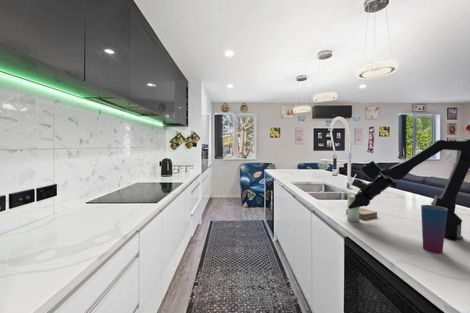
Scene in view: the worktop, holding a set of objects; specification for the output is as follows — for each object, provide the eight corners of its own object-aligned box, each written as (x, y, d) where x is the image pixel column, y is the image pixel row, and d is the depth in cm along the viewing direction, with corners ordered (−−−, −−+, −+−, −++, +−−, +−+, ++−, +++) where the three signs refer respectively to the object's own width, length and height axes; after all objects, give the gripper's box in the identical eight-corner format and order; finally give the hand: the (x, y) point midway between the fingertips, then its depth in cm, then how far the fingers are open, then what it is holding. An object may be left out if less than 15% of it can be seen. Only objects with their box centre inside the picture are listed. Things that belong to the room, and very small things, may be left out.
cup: (419, 244, 81) (420, 203, 80) (445, 249, 77) (446, 206, 76) (419, 250, 76) (421, 207, 75) (447, 256, 71) (449, 211, 71)
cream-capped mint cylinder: (361, 221, 106) (362, 196, 106) (354, 222, 104) (354, 197, 103) (352, 217, 111) (352, 194, 110) (344, 219, 109) (345, 195, 108)
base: (377, 217, 112) (377, 212, 112) (363, 219, 108) (363, 214, 108) (359, 211, 121) (359, 207, 121) (346, 213, 117) (346, 209, 117)
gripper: (365, 171, 112) (341, 190, 119) (361, 175, 97) (333, 196, 103) (383, 188, 107) (357, 207, 114) (382, 195, 92) (352, 216, 99)
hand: (350, 206), depth 108 cm, fingers open, 7 cm apart
